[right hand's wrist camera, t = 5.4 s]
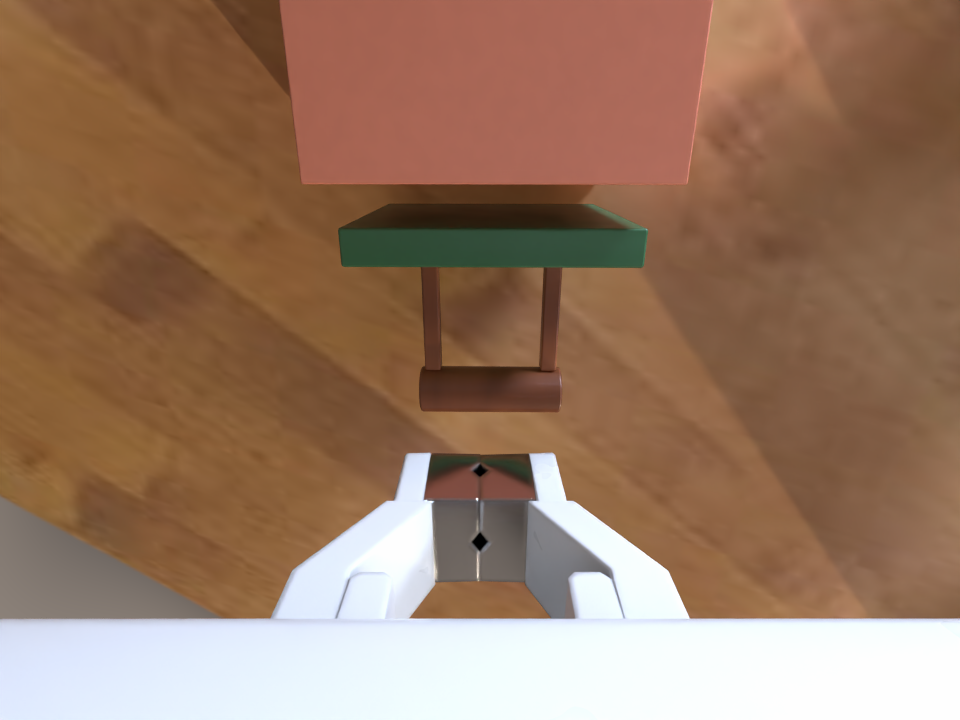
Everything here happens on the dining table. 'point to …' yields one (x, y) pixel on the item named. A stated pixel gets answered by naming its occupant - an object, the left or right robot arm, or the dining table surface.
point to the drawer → (492, 243)
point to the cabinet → (495, 90)
